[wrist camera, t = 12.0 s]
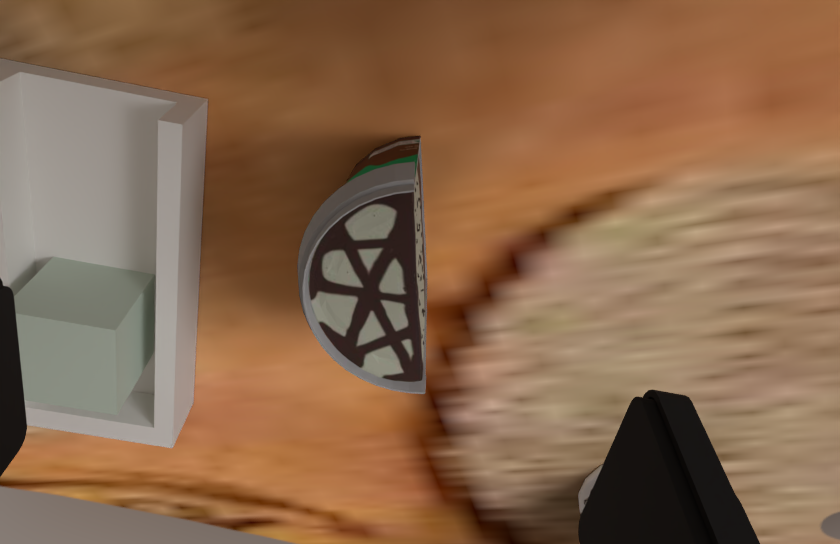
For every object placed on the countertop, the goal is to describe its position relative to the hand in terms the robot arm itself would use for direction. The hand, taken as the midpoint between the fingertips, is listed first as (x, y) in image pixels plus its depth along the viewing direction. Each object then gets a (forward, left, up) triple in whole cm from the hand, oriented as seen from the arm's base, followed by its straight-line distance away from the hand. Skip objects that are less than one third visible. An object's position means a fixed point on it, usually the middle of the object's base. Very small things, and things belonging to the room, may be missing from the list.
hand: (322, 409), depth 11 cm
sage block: (+20, -15, -29) cm, 38 cm away
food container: (+11, 0, -31) cm, 32 cm away
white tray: (+17, -20, -30) cm, 40 cm away
